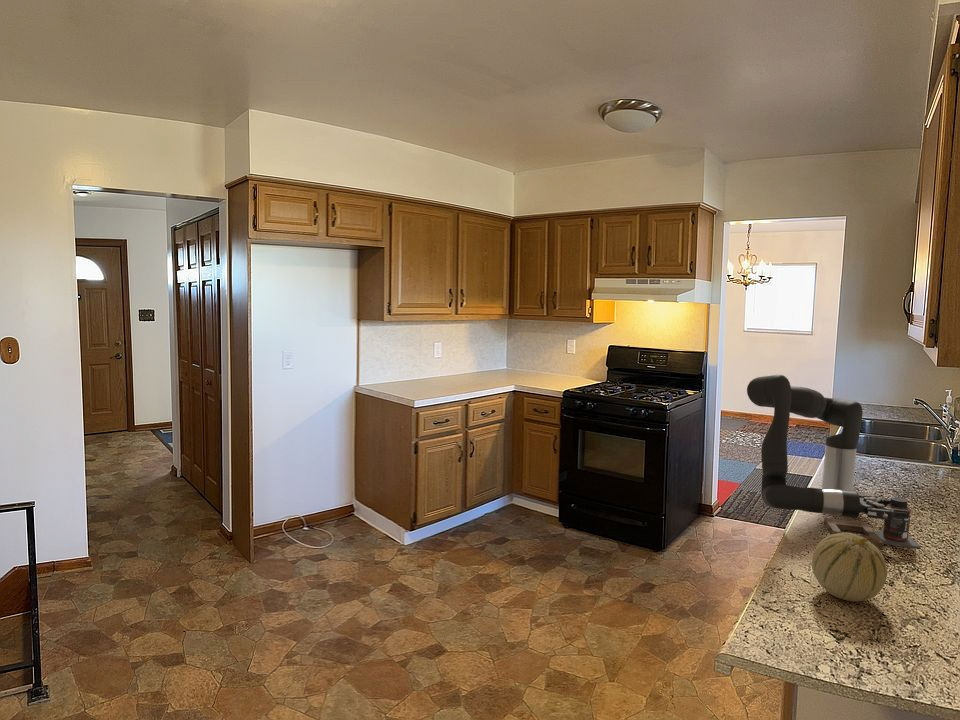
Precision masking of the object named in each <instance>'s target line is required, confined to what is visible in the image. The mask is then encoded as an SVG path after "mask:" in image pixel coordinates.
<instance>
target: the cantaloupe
mask: <svg viewBox="0 0 960 720" xmlns="http://www.w3.org/2000/svg"><path fill="white" fill-rule="evenodd" d="M858 535H859V534H857V535H856V534H855V533H851V532H842V533H837V534H830V535H827V536H826V537H824V538H823V539H821V541H820V542H819V543H818V544H817V545H816V547H815V548H814V552H813V555H812V559H811V564H812V565H811V567H812V568H811V569H812V572H813V574H814V577H815V579H816V580H817V582H818V583H819V585H820V586H821V587H822V588H823V589H824V590H826V591H827V592H828V594H830V595H831V596H834V597H836V598H838V599H841V600H845V601H847V602H853V603H854V602H855V603H856V602H858V603H859V602H864V601H868V600H871V599H873V598H874V597H876V596H877V595H878V594H879V593H880V592H881V591H882V589H883V588H884V586H885V584H886V581H887V578H888V577H887V576H888V568H887V564H886V561H885V558H884V556H883V554H882V552H881V551H880V548H877V547H876V546H875V545H873V544H872V543H870V542H869V541H868V540H867V539H866V538H863V537H861V536H858Z"/></svg>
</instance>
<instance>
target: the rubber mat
mask: <svg viewBox="0 0 960 720" xmlns="http://www.w3.org/2000/svg"><path fill="white" fill-rule="evenodd" d="M873 532H874V533H875V534H876V535H877V536H878V537H879V539H880V540H881V541H882V542H883V545H888V544H890V546H896V545H897V547H906V548H913V549H921V546H920V544H918V542H917V541H915V540H914V538H912V537H911V536H910V535H908V540H906V541H895V540H891V539H888V538H886V537H885V536H884V535H883V530H882V531H881V530H873Z"/></svg>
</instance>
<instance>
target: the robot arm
mask: <svg viewBox="0 0 960 720" xmlns="http://www.w3.org/2000/svg"><path fill="white" fill-rule="evenodd" d="M746 395H747V397H748V399H749V400H750V402H751V403H752V404H753V405H755V406H757V407H762V408H773V409H774V412H773V418H772V421H771V424H770V426H769V428H768V430H767V432H766V434H765V436H764V437H763V441H762V443H761V449H760V451H761V452H760V453H761V468H762V469H761V470H762V475H761V497H762V498H761V499H762V501H763V503H764V504H765V505H766V506H767V507H769V508H771V509H777V510H778V509H779V510H789V511H790V510H794V511H795V510H796V511H802V512H805V513H807V512H808V513H814V514H823V515H827V516H835V517H840V518H841V517H842V518H843V517H844V518H850V519H851V518H852V519H857V518H858V517H859V515H860V514H861V513H862V514H865V515H867V518H869V519H870V518H871V519H879V520H893V517H894V518H903V519H908V518H909V512H908V511H907V510H899V509H892V508H887V507H886V506H887V505H888V504H890V500H891V499H885V498H884V499H883V498H882V497H879V496H878V495H873V494H872V495H870V494H859V493H858V492H857V491H855V490H854V481H855V470H856V462H857V461H856V459H857V448H858V447H857V446H858V444H859V440H860V435H861V427H862V420H863V412H864V411H863V407H862V405H861V403H860V402H858V401H855V400H849V399H843V398H842V399H841V398H833V397H824V395H823V394H822V393H821V392H819V391H817V390H815V389H811V388H808V387H803V386H794V385H793V386H791V382H790V380H789V378H788V377H786V376H785V375H784V374H773V375H771V374H770V375H764V376H757V377H755V378H753V379H751V380H750V381H749V383H748V384H747V387H746ZM791 414H793V415H796V416H800V417H803V418H809V419H819V420H821V421H823V422H824V423H826V424H829V425H831V426H836V427H842V430H841V432H840V433H839V434H830V435H828V436H826V438H825V449H824V462H823V473H822V482H821V488H816V487H800V486H793V485H787V474H788V471H789V470H788V469H789V468H788V467H789V466H788V465H789V463H788V434H789V433H788V431H789V423H790V415H791ZM885 513H888V515H887V514H885Z"/></svg>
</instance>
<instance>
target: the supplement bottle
mask: <svg viewBox="0 0 960 720" xmlns="http://www.w3.org/2000/svg"><path fill="white" fill-rule="evenodd" d="M889 500H890V504H888V505H887V506H886V507H887V508H892V509H899V510H907V511H908V512H909V518H908V519H903V518H894V517H893V520H884V519H883V520H884V522H883V530H882V532H883V535H884V536H885V537H886V538H888V539H891V540H895V541H906V540H908V535H909V533H910V532H909V531H910V522H911V515H912V514H911V513H912V511H911V508H910V507H908V502H909V501H908V500H907V499H905V498H902V497H897V496H896V497H895V496H894V497H890V499H889ZM885 514H887V515H888V513H885ZM909 536H910V535H909Z"/></svg>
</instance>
